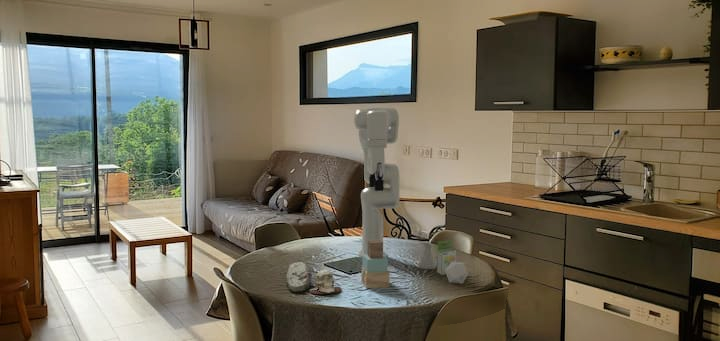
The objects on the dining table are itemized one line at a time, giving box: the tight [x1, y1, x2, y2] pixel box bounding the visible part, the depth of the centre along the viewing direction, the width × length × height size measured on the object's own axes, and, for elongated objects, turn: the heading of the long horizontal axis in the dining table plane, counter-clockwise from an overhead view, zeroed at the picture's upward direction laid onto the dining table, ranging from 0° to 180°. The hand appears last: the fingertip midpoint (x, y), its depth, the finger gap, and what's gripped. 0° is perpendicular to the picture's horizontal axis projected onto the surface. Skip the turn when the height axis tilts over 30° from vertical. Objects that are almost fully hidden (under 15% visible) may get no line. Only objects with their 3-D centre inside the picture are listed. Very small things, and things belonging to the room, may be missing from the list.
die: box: [445, 261, 469, 285], centre depth 230 cm, size 8×9×10 cm
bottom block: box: [361, 266, 391, 289], centre depth 227 cm, size 9×9×6 cm
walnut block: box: [368, 239, 384, 258], centre depth 226 cm, size 5×5×6 cm
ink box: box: [436, 239, 457, 276], centre depth 241 cm, size 7×4×13 cm, turn 117°
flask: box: [418, 243, 437, 270], centre depth 250 cm, size 7×7×10 cm
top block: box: [361, 254, 389, 273], centre depth 226 cm, size 8×8×5 cm
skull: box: [310, 269, 342, 295], centre depth 218 cm, size 12×10×10 cm
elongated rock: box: [285, 261, 313, 292], centre depth 232 cm, size 35×5×10 cm
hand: (376, 188), depth 224 cm, fingers open, 9 cm apart
